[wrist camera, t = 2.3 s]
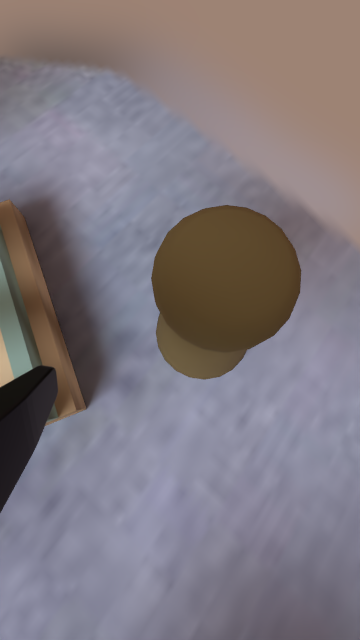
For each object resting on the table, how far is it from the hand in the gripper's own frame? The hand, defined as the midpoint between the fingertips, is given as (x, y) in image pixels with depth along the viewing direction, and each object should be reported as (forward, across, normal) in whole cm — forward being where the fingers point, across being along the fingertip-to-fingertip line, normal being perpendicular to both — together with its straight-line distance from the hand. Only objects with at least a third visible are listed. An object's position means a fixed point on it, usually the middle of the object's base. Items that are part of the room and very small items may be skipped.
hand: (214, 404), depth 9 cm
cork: (+11, 0, +5) cm, 12 cm away
